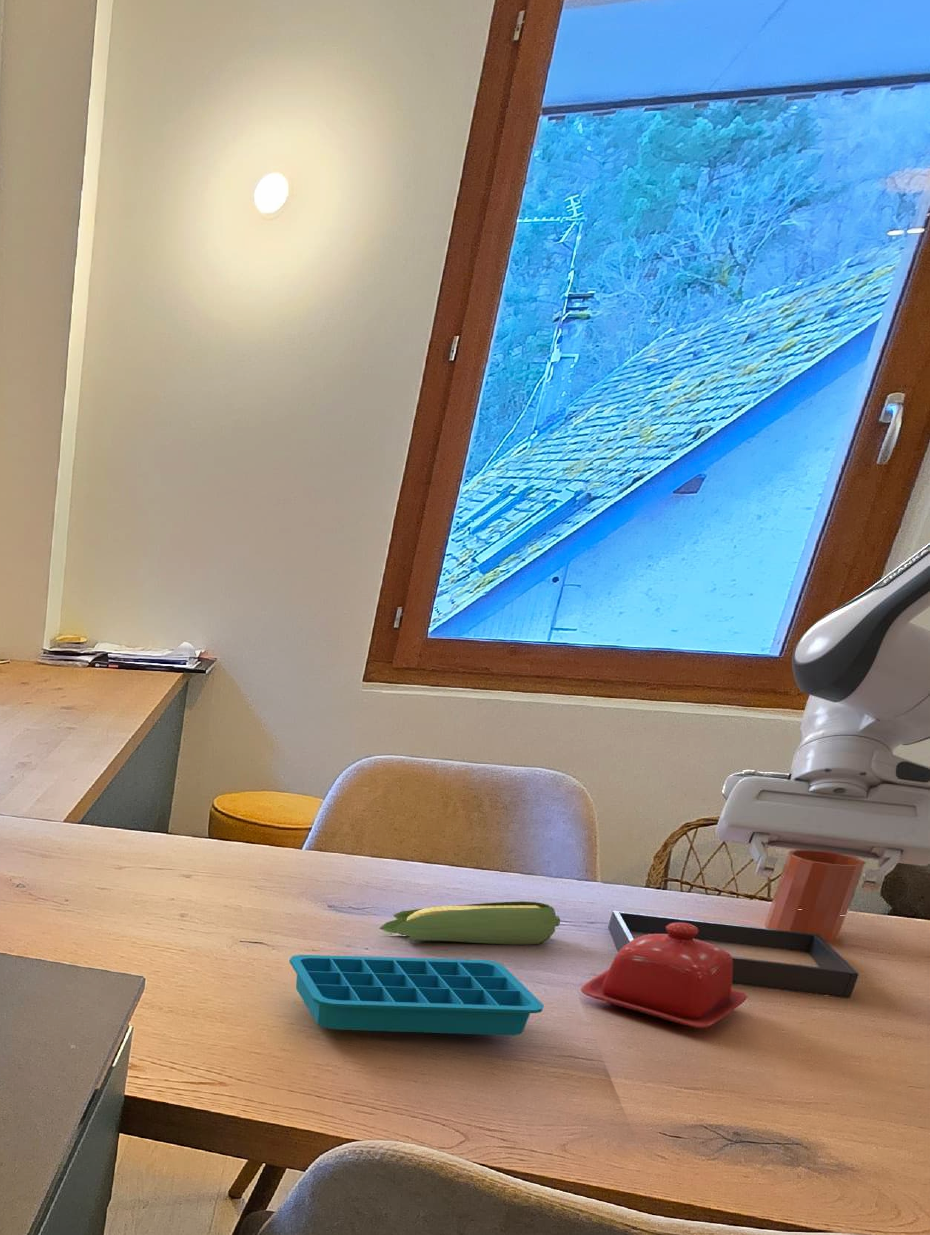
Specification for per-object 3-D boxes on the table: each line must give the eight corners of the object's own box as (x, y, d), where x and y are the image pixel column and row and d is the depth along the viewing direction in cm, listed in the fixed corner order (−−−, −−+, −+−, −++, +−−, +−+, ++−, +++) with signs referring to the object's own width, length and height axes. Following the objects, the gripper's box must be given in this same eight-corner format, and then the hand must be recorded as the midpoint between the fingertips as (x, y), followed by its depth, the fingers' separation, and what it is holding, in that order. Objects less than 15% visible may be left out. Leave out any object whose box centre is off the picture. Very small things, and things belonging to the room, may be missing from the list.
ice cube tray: (541, 1040, 108) (549, 1010, 106) (311, 1032, 110) (316, 1003, 109) (491, 987, 118) (498, 960, 117) (282, 981, 120) (287, 954, 119)
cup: (824, 938, 135) (854, 853, 132) (842, 956, 130) (874, 868, 126) (754, 930, 138) (782, 847, 134) (769, 947, 132) (798, 861, 128)
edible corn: (563, 951, 131) (574, 912, 129) (380, 951, 132) (388, 913, 130) (539, 933, 135) (549, 896, 133) (362, 934, 136) (370, 897, 134)
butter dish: (570, 1000, 117) (593, 921, 114) (620, 971, 123) (643, 894, 120) (702, 1041, 109) (731, 957, 105) (749, 1008, 115) (778, 926, 111)
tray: (809, 960, 129) (819, 934, 127) (849, 1001, 118) (859, 973, 116) (605, 935, 136) (612, 910, 135) (624, 972, 125) (632, 945, 124)
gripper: (733, 752, 139) (710, 851, 135) (964, 774, 128) (945, 881, 124) (721, 784, 144) (698, 879, 140) (941, 806, 133) (923, 911, 130)
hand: (816, 880), depth 132 cm, fingers open, 8 cm apart
